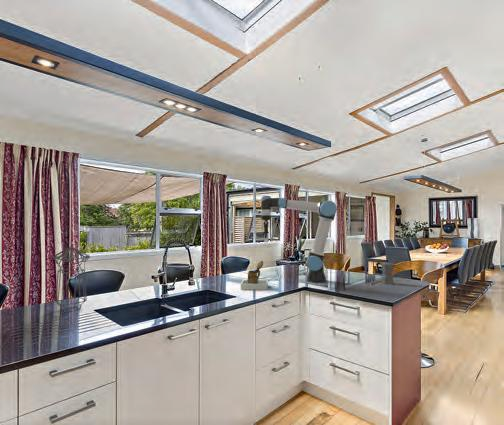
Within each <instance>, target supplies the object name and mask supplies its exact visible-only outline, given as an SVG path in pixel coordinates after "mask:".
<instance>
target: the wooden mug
mask: <svg viewBox="0 0 504 425" xmlns="http://www.w3.org/2000/svg"><path fill="white" fill-rule="evenodd" d="M263 265H264V261H263V260H261V261H259V262H258V263H257V265H256V269H255V270H248V271H247V272H248V273H247V279H246V280H247V284H258V280H260V279H259V278H260V275H261V269H262V268H263Z"/></svg>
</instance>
